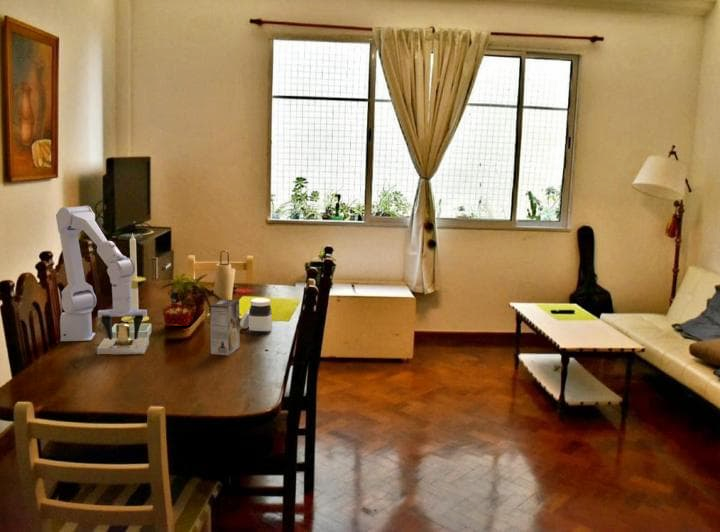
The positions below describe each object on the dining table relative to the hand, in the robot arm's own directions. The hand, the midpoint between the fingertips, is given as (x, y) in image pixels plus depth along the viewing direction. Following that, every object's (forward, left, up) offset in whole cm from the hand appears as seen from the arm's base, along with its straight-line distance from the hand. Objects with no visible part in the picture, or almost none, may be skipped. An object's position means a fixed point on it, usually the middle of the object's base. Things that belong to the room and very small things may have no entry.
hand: (123, 338), depth 214 cm
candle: (-2, +36, -4) cm, 36 cm away
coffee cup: (+16, +27, -4) cm, 32 cm away
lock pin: (0, 0, -3) cm, 3 cm away
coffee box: (+32, -4, -4) cm, 32 cm away
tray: (0, +14, -3) cm, 14 cm away
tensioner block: (0, 0, -3) cm, 3 cm away
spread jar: (+42, +18, -4) cm, 46 cm away
